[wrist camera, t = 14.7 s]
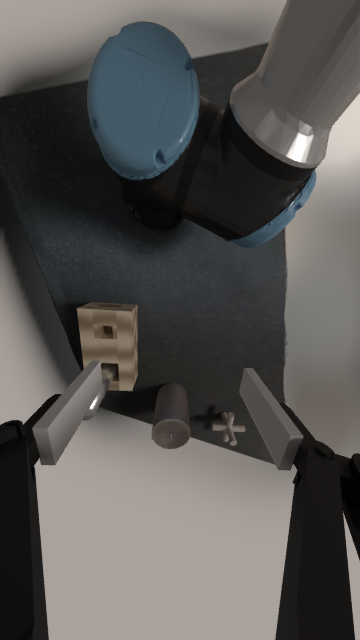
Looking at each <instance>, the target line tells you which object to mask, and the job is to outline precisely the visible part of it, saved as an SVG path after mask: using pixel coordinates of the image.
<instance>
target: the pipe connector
mask: <svg viewBox="0 0 360 640" xmlns="http://www.w3.org/2000/svg"><path fill="white" fill-rule="evenodd" d="M221 416H222V419H223V422H224V424H212V430H216V431H224V433H223V438H222V439H223V441H225V442H228V439H229V441H230V444H231V445H232V446H234V445H236V444H237V442H236V440H235V437H234V434H233V431H234V432H245V426H244V425H232V423H233V419H234V414H233V413H231V412H229V413H228V416H227V414H226V412H222V413H221Z"/></svg>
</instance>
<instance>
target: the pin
mask: <svg viewBox="0 0 360 640" xmlns="http://www.w3.org/2000/svg"><path fill="white" fill-rule="evenodd" d="M118 370H119V367H118V364H116V363H104V365H103V366H102V368H101V373H102V386H103V387H102V388H101V390H100V392H99V393H98V395H97V397H96V398H95V400H94V402H93V403H92V405H91V407H90V408H89V410H88V412H87V413H86V415H85V417H84V418H83V420H89V419H91V418H92V417H93V416H94V414H95V412H96V410H97V408H98V406H99V404H100V403H101V401H102V399H103V397H104V395H105V393H106V392H107V390H108V388H109V386H110V384H111V382H112V381H113V379H114V377H115V375H116V373H117V371H118Z"/></svg>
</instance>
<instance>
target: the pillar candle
mask: <svg viewBox="0 0 360 640" xmlns="http://www.w3.org/2000/svg"><path fill="white" fill-rule="evenodd" d="M189 438H190V423H189V411H188V398H187V392H186V390H185V388H184V387H183V386H181V385H179V384H176V383H168V384H165V385H164V386H162V387H161V388H160V390H159V391H158V394H157V401H156V407H155V415H154V422H153V428H152V439H153V440H154V441H155V443H156V444H157V445H159V446H161V447H163V448H167V449H175V448H179V447H181V446H183V445H184V444H186V443H187V441H188V440H189Z"/></svg>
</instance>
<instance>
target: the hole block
mask: <svg viewBox="0 0 360 640" xmlns="http://www.w3.org/2000/svg"><path fill="white" fill-rule="evenodd" d="M77 313H78V322H79V330H80V339H81V348H82V357H83V366H84V369H85V368H86V366H87V365H88V364H89V363H90V362H91V361H92V360H94V361H101V368H102V366H103V365H104V363H116V364H118V367H119V370H118V371H117V373H116V375H115V377H114V379H113V381H112V382H111V384H110V386H109V388H108V390H120V391H132V390H133V387H134V384H135V381H136V378H137V375H138V365H137V305H131V304H115V303H99V302H90V303H88V304H86V305H83V306H81V307H79V308H77Z"/></svg>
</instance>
